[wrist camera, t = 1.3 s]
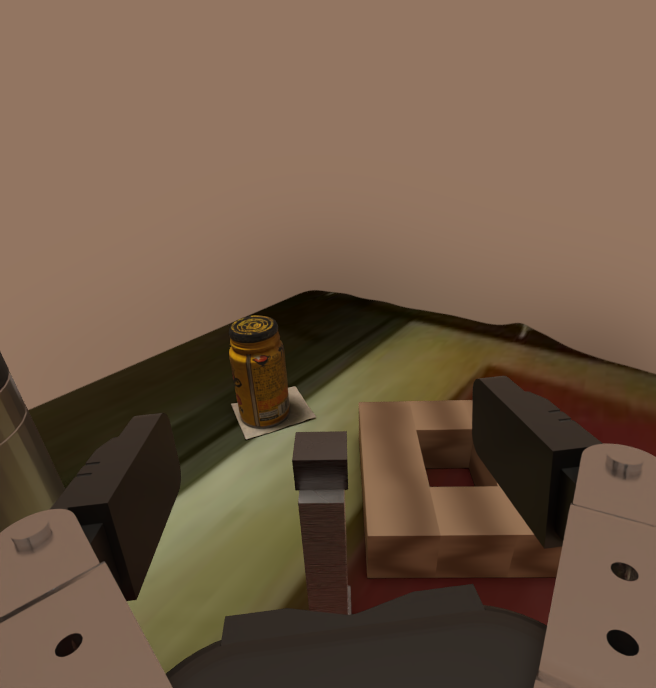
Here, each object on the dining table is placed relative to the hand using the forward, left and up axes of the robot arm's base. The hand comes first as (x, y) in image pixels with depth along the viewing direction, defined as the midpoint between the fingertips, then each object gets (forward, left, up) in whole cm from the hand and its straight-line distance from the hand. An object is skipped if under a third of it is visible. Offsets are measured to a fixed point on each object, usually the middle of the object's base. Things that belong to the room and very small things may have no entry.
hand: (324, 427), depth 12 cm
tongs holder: (+4, +22, -25) cm, 34 cm away
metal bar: (-3, +7, -25) cm, 26 cm away
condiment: (-17, +30, -26) cm, 43 cm away
